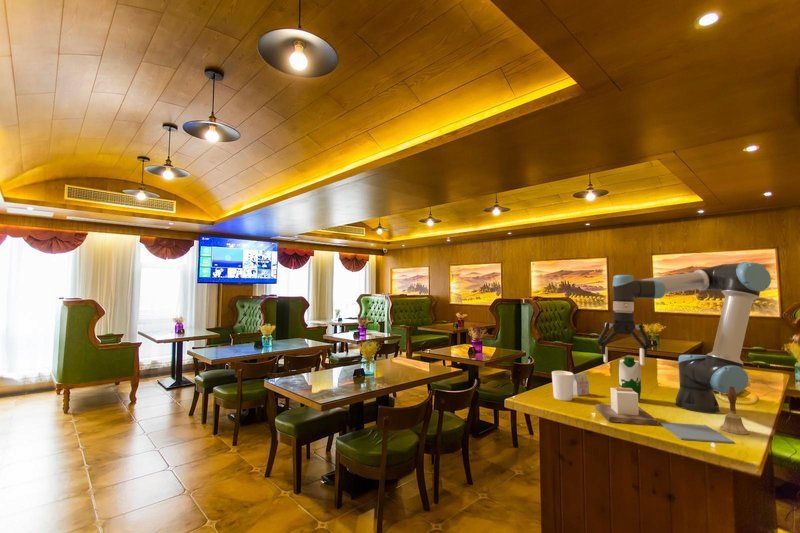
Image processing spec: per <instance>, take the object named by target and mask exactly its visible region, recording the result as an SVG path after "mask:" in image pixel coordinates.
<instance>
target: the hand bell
mask: <svg viewBox="0 0 800 533" xmlns="http://www.w3.org/2000/svg"><path fill="white" fill-rule="evenodd" d="M737 394H738V393H737ZM737 394H736V391H735V389H734V387H732V386H729V389H728V393H727V394H726V395H727V399H728V402H729V413H726V414H725V415H724V422H723V423H722V424H721V425H720V426H719V429H720V430H722V431H723V432H726V433H731V434H735V435H742V436H743V435H749V434H750V431H749V430H748V429H747V428H746V427H745V425H744V423H743V420H742V416H740V415H738V414H737V410H736V402H737V398H738V396H737Z"/></svg>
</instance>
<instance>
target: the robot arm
mask: <svg viewBox="0 0 800 533" xmlns="http://www.w3.org/2000/svg"><path fill="white" fill-rule="evenodd" d="M771 283H772V277H771V274H770V272H769V270H768V269H767V268H766V267H765V266H764V265H762V264H760V263H758V262H754V261H753V262H746V261H745V262H736V263H724V264H718V265H714V266H710V267H705V268H699V269H696V270H694V271H693V272H687V273H679V274H678V273H677V274H672V275H665V276H658V277H649V278H642V279H635V278H634V275H631V274H617V275H614V276H613V279H612V310H613V313H612V323H610V322H609V323H608V322H605V323H604V326H603V329H602V331H601V333H600V334H599V336H598V338H597V340H596V342H595V344H597V345H598V346H600V353H601V355H603V362H604V363H605V364H608V363H609V362H608V358H609V357H608V355H609V354H608V346H607V345H608V344H609V343H610V342H611V341H612V340H613V339H614V338H615V337H616V336H618V335H627V336H629V335H630V336H631V337H632V338H633V339H634V340H635V342H636V343H637V344H638V345H639V346H640V348H639V364H640V366H645V358H647V357H648V349H651V348H653V344H652V343H651V342H650V339H649V337H648V335H647V334H646V332H645V331H644V325H643V324H641V323H640V324H639V323H638V324H635V314H634V313H633V312H635V311H634V310H635V299H653V300H655V299H656V300H657V299H662V298H663V297H664V296H665V295H666V294H669V293H677V292H684V291H685V292H686V291H693V290H698V291H701V292H702V291H704V292H705V291H721V294H722V295H723V296H724V299H723V304H722V308H721V313H720V317H719V321H718V326H717V329H716V336H715V339H714V344H713V346H712V350H711V352H708V353H707V354H705V355H704V354H681V355H679V356H678V362H677V364H678V376H679V388H678V391H677V394H676V396H675V405H676V406H677V407H679V408H682V409H684V410H689V411H693V412H699V413H707V414H708V413H709V414H710V413H719V412H720V405H719V403H718V400H717V398H716V396H715V394H714V391H715V392H718V393H722V394H726V395H727V393H728V389H729V386H732V387H734V389H735V391H736V394H739V393H741V392H743V391H744V390H745V389H747V386H748V385H749V384H748V383H749V375H748V374H747V371H746V370H745V369H744V362H743V360H741V354H742V350H743V345H744V341H745V336H746V334H747V333H746V331H747V327H748V323H749V318H750V314H751V309H752V306H753V301H755V300H757V299H759V297H760V293H761V292H763V291H765V290H766V289H768V288H770V285H771ZM611 328H613V330H612V331H611V332H610V333H609V335H607V333H608V332H609V330H610V329H611ZM635 329H636V330H637V331H638V333H639V334H640V336H641V337H639V336H638V335H637V334H636V332H634V330H635ZM606 336H607V337H606ZM605 337H606V338H605ZM640 338H642V339H640Z"/></svg>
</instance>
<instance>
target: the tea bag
mask: <svg viewBox="0 0 800 533" xmlns="http://www.w3.org/2000/svg"><path fill="white" fill-rule="evenodd" d="M573 374H574V373H573ZM573 396H576V397H581V396H590V383H589V379H588V376H587V373H578V374H577V373H576V374H574V379H573Z"/></svg>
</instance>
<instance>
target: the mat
mask: <svg viewBox="0 0 800 533" xmlns="http://www.w3.org/2000/svg"><path fill="white" fill-rule="evenodd" d="M658 425H660V426H662V427H663V428H665V429H666V430H667V431H668V432H669V433H671V434H673V435H674V436H675V437H677V438H678V439H680V440H681V441H694V442H707V443H708V442H709V443H717V444H718V443H720V444H731V445H732V444H733V445H734V444H735V441H734V440H732V439H730V438H728V437H727V436H725V435H723V434H722V433H720V432H718V431H717V430H716V429H714V428H712V427H710V426H708V425H706V424H696V423H695V424H694V423H691V424H690V423H679V422H678V423H676V422H665V421H658Z"/></svg>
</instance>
